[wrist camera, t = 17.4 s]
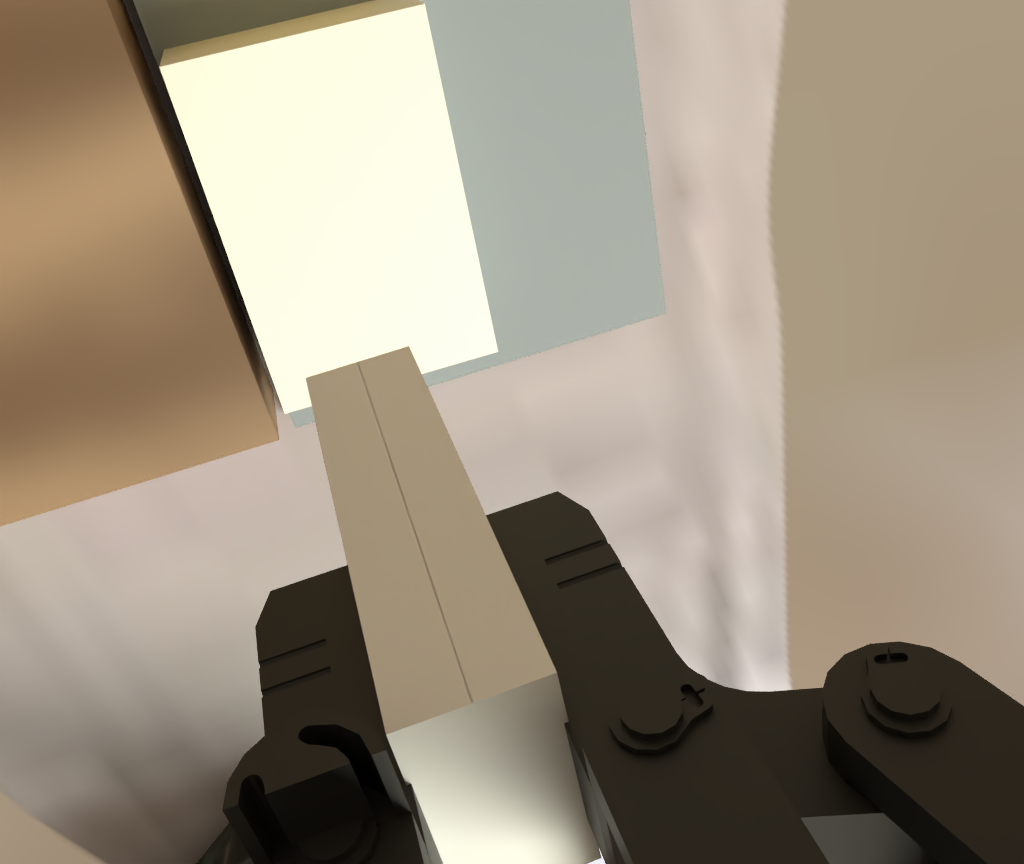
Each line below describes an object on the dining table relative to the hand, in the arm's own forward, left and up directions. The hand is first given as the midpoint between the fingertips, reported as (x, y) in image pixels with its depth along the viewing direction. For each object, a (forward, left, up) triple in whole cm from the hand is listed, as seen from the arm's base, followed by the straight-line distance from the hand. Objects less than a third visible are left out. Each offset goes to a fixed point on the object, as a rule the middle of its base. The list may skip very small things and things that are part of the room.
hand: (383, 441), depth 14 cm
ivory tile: (0, +1, -14) cm, 14 cm away
